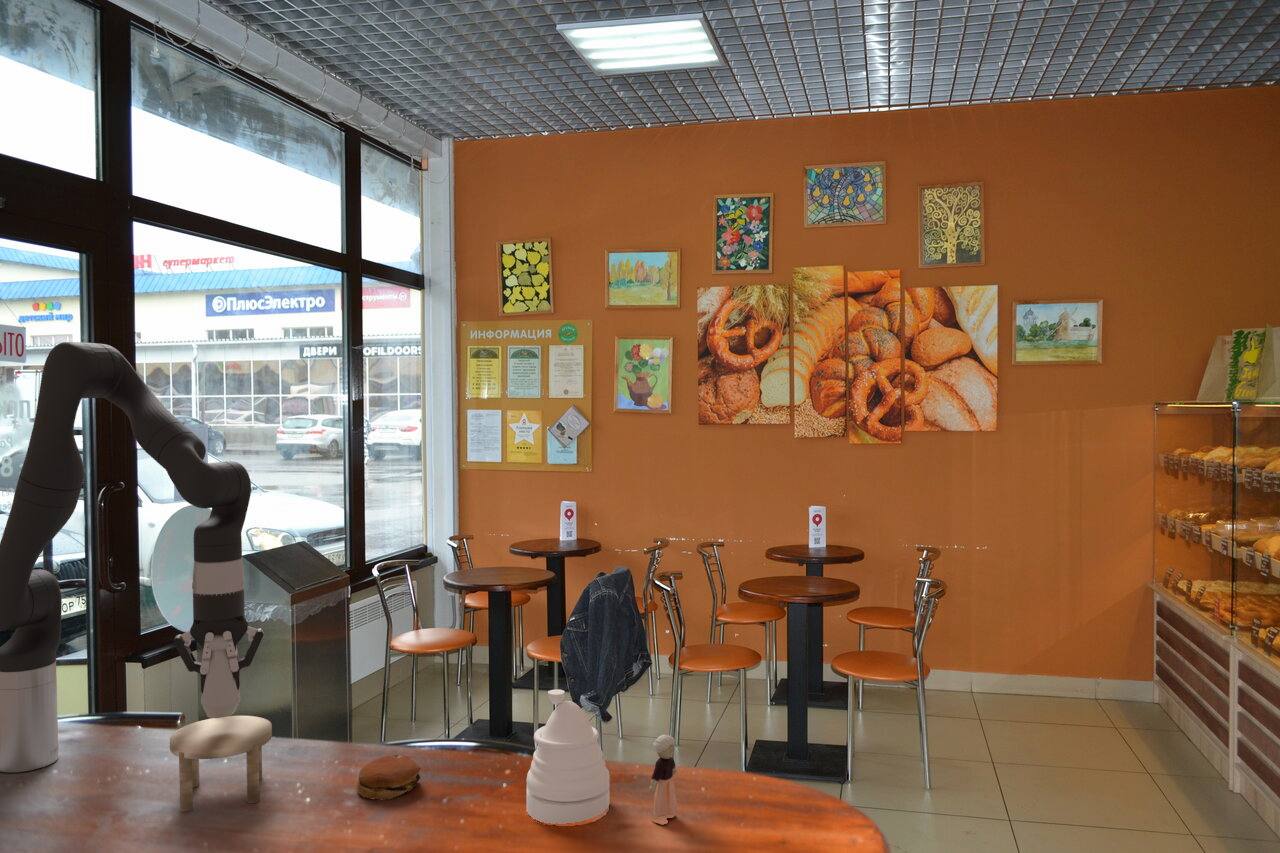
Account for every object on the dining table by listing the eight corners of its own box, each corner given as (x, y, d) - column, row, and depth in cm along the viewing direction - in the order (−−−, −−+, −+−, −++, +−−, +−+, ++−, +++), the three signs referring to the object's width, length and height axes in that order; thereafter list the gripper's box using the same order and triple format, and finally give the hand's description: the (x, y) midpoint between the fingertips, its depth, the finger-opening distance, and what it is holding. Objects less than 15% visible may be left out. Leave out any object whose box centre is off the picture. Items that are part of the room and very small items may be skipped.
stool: (164, 819, 146) (163, 754, 145) (177, 781, 160) (176, 721, 160) (271, 805, 151) (270, 742, 150) (274, 769, 165) (273, 711, 164)
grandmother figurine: (670, 830, 142) (670, 745, 142) (645, 826, 143) (645, 742, 143) (683, 808, 150) (683, 727, 149) (659, 805, 151) (659, 724, 150)
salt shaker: (247, 708, 157) (246, 629, 157) (228, 720, 152) (227, 638, 151) (213, 707, 158) (211, 628, 157) (193, 719, 152) (192, 637, 152)
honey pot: (511, 819, 146) (511, 701, 145) (548, 786, 158) (548, 677, 157) (590, 832, 142) (589, 711, 141) (622, 797, 154) (621, 685, 153)
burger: (353, 803, 152) (353, 774, 152) (362, 779, 161) (362, 752, 161) (417, 800, 153) (417, 771, 153) (423, 777, 162) (423, 749, 162)
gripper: (266, 580, 160) (268, 683, 161) (173, 585, 155) (175, 692, 156) (265, 589, 153) (266, 697, 154) (166, 595, 148) (169, 706, 149)
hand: (220, 694), depth 155 cm, fingers closed on salt shaker, 3 cm apart
